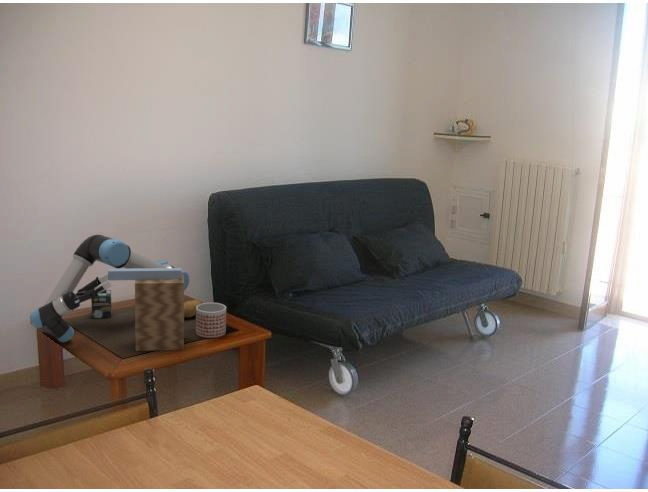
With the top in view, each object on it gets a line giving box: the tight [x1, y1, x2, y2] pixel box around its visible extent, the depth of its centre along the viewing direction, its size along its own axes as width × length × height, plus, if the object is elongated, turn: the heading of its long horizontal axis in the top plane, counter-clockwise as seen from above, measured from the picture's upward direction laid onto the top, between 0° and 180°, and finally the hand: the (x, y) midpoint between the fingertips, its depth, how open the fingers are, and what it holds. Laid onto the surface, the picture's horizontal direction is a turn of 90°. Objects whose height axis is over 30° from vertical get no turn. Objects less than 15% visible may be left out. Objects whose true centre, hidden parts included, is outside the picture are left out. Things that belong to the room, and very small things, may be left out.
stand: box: [134, 274, 185, 352], centre depth 281 cm, size 20×14×30 cm
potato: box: [184, 299, 202, 319], centre depth 319 cm, size 10×14×8 cm
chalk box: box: [90, 289, 113, 319], centre depth 314 cm, size 9×9×15 cm
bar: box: [107, 267, 182, 282], centre depth 275 cm, size 30×4×4 cm, turn 103°
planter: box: [195, 302, 227, 339], centre depth 299 cm, size 14×14×13 cm
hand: (112, 278), depth 273 cm, fingers open, 13 cm apart
